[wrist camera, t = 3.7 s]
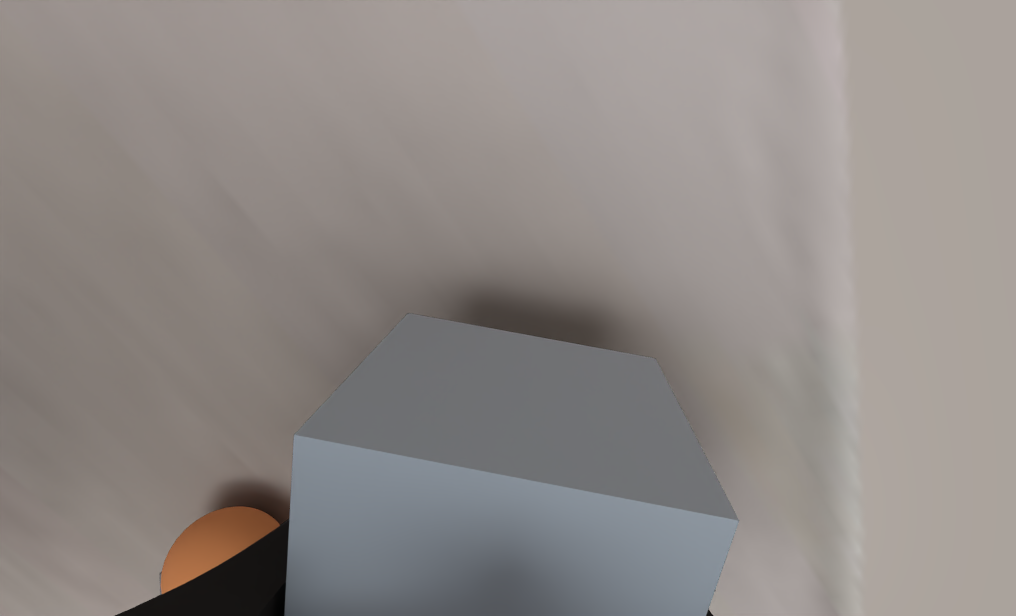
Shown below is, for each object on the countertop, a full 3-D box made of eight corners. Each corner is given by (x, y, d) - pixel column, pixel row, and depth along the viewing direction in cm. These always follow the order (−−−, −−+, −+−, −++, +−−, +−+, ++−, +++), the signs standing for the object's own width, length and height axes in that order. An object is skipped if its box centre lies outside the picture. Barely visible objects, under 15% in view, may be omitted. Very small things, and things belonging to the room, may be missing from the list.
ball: (210, 559, 21) (133, 649, 17) (210, 474, 20) (127, 550, 16) (306, 579, 21) (250, 675, 17) (312, 495, 20) (253, 576, 16)
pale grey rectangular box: (373, 613, 15) (271, 875, 9) (408, 312, 12) (293, 435, 7) (576, 655, 15) (591, 945, 9) (655, 358, 12) (738, 520, 7)
